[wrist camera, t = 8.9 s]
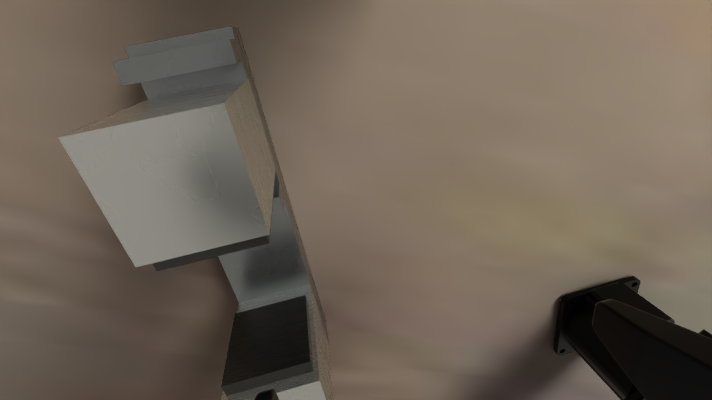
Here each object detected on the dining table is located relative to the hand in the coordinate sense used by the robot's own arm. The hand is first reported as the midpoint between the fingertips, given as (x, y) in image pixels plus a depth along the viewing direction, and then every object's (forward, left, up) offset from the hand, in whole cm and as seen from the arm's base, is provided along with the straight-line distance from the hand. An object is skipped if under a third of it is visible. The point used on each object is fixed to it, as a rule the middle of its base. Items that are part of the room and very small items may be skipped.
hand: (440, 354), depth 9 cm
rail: (0, +6, -11) cm, 13 cm away
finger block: (+5, +6, -9) cm, 12 cm away
